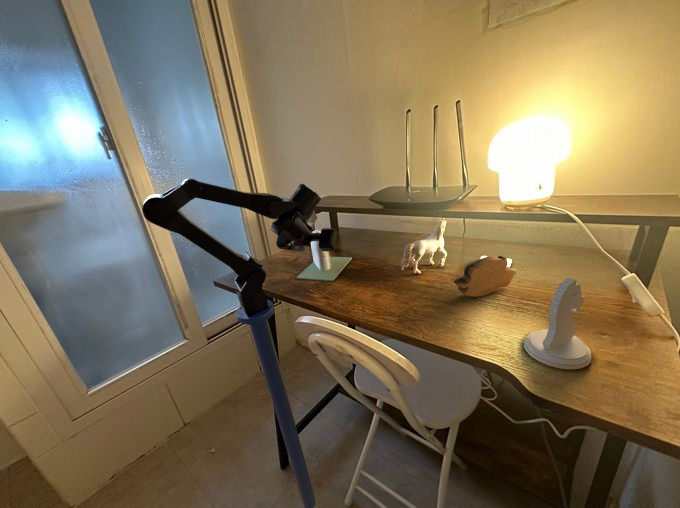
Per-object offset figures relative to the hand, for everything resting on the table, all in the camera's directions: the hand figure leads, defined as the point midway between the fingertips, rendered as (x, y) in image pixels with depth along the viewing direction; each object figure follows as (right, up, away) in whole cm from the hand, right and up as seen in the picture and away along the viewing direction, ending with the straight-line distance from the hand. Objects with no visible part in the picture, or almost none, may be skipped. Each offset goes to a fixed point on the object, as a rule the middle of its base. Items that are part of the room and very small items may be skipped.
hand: (317, 250), depth 97 cm
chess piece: (+45, -23, -42) cm, 65 cm away
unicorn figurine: (+33, -5, -2) cm, 34 cm away
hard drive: (+50, -7, -11) cm, 51 cm away
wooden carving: (+42, -13, -21) cm, 49 cm away
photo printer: (+2, -5, +8) cm, 9 cm away
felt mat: (+3, -5, +6) cm, 9 cm away
